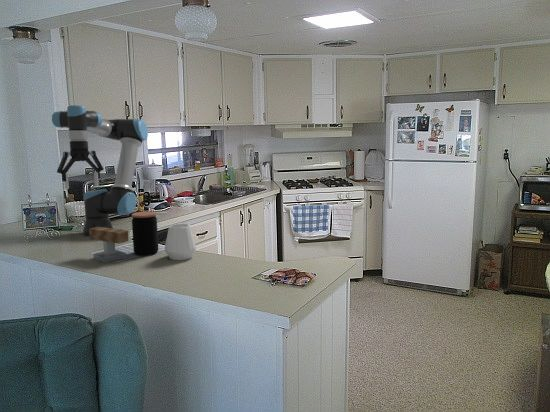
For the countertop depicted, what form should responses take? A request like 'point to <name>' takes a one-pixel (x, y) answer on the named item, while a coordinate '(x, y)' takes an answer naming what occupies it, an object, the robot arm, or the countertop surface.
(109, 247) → the slate fulcrum
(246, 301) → the countertop surface
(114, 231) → the walnut bar
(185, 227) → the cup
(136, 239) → the coffee jar
